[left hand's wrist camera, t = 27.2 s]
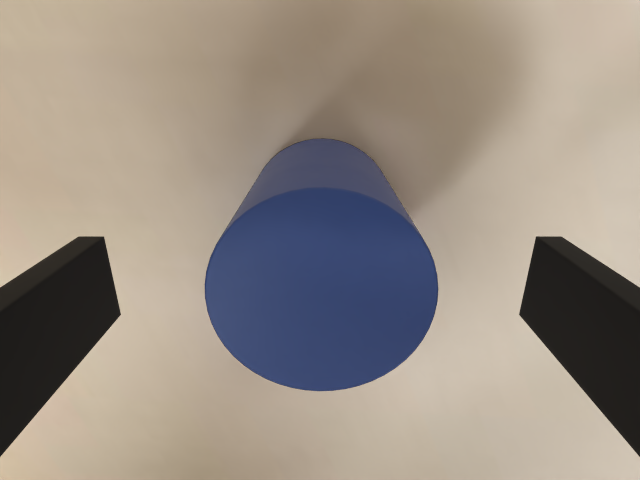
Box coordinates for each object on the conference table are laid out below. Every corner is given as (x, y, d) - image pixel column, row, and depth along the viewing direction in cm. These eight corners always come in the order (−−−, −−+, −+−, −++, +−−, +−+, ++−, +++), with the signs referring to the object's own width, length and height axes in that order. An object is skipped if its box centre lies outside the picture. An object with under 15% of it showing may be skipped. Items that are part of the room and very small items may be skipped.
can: (309, 106, 16) (300, 132, 9) (419, 198, 18) (488, 285, 11) (225, 218, 18) (160, 316, 11) (331, 293, 20) (336, 424, 12)
